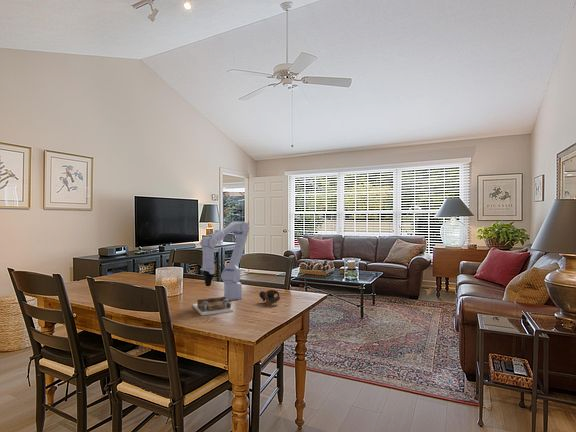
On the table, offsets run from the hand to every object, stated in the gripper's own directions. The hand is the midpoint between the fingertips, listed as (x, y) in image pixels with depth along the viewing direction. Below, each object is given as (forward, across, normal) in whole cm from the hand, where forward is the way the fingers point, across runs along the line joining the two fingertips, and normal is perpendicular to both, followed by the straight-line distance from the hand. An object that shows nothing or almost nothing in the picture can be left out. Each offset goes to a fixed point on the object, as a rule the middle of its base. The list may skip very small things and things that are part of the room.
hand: (208, 285), depth 175 cm
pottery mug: (+10, +11, +30) cm, 34 cm away
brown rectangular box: (+8, +11, 0) cm, 14 cm away
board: (+10, +8, 0) cm, 13 cm away
